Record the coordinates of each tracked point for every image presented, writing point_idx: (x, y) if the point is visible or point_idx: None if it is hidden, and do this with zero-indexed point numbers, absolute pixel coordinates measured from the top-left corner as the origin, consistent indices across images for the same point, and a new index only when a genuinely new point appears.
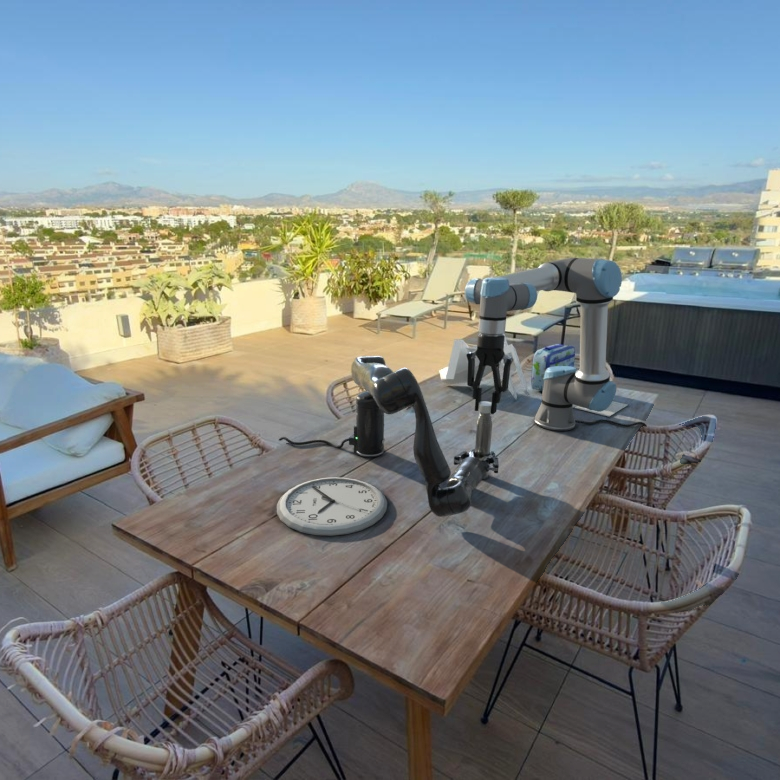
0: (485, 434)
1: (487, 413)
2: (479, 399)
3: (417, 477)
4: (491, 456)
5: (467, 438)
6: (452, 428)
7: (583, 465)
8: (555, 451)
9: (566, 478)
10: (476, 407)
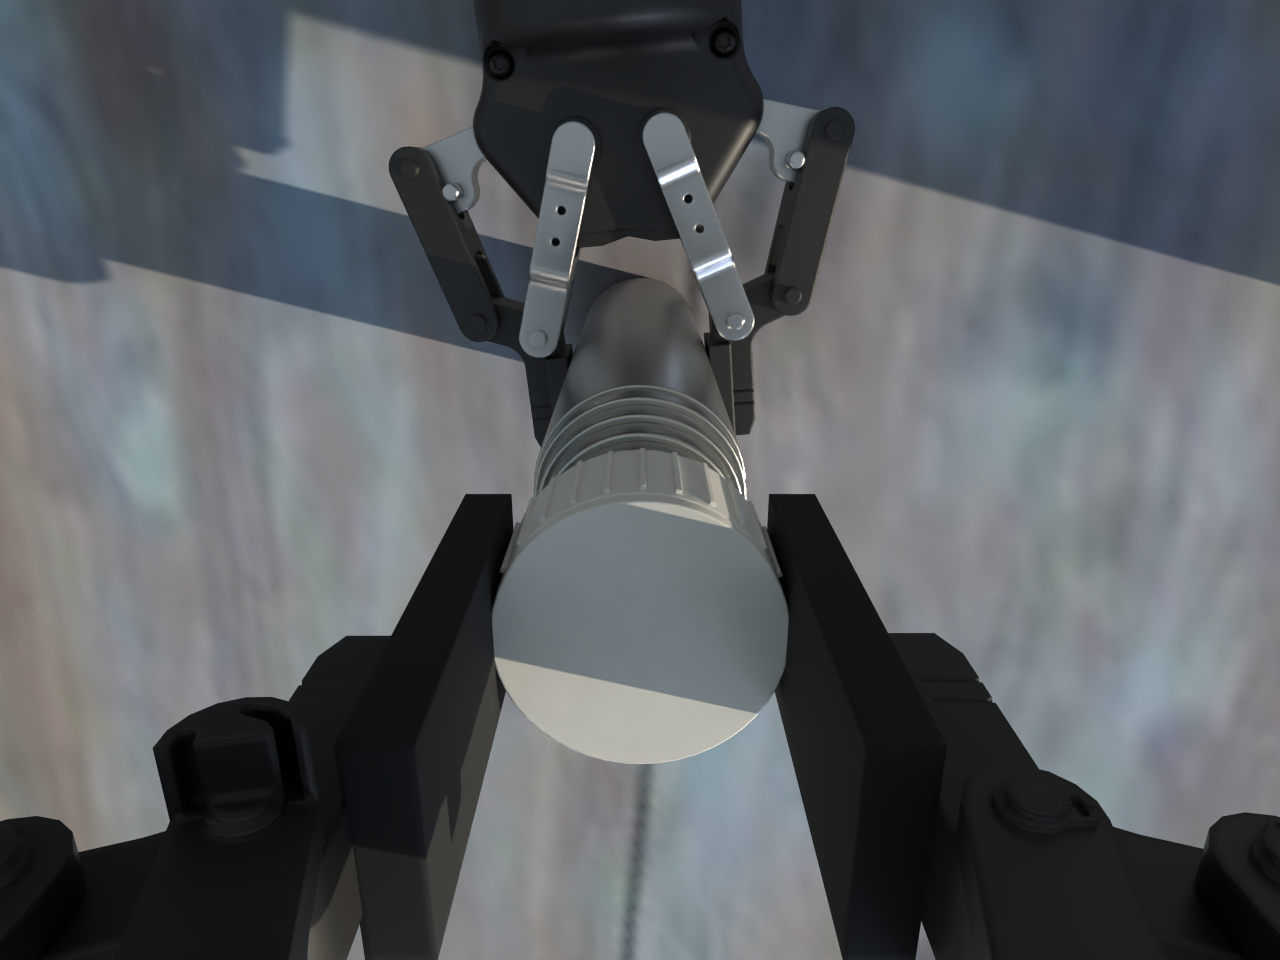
0: (589, 371)
1: None
2: (798, 677)
3: (1092, 16)
4: (528, 331)
5: None
6: None
7: (121, 827)
8: None
9: (124, 606)
10: (798, 522)
